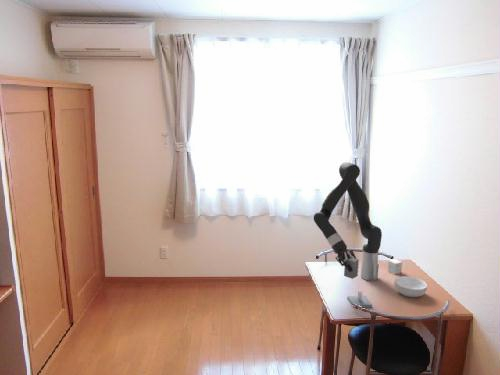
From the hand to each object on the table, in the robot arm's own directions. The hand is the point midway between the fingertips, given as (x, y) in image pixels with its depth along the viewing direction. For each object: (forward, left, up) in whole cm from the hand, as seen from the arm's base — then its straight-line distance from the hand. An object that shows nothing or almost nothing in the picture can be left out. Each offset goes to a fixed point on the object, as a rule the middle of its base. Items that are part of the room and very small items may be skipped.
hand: (354, 269), depth 216 cm
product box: (-39, -34, -16) cm, 54 cm away
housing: (+1, -1, -4) cm, 5 cm away
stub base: (-2, +6, -16) cm, 17 cm away
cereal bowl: (-34, -3, -16) cm, 38 cm away
